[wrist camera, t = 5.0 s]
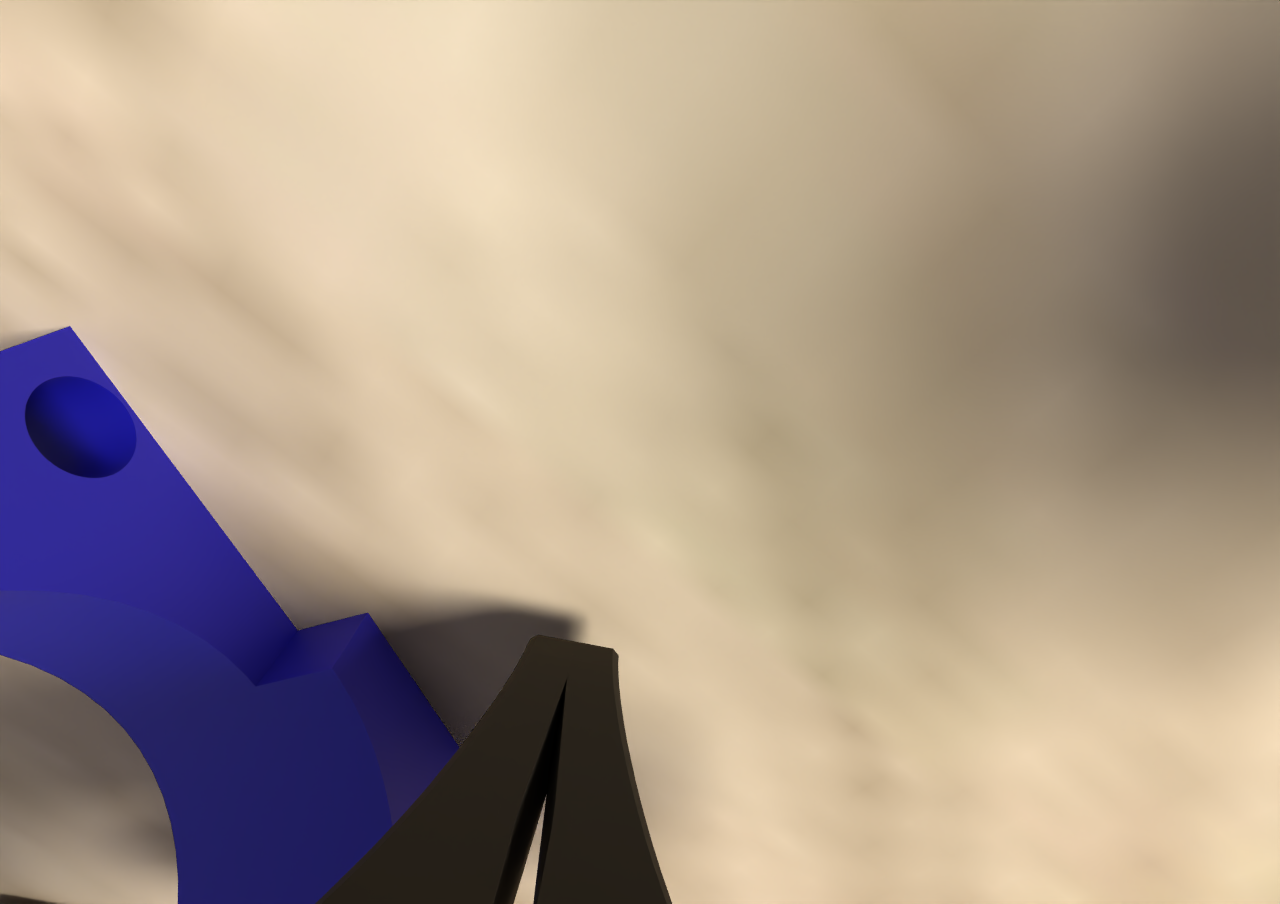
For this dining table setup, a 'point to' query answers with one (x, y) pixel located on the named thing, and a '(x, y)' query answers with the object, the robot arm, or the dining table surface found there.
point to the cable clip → (196, 647)
